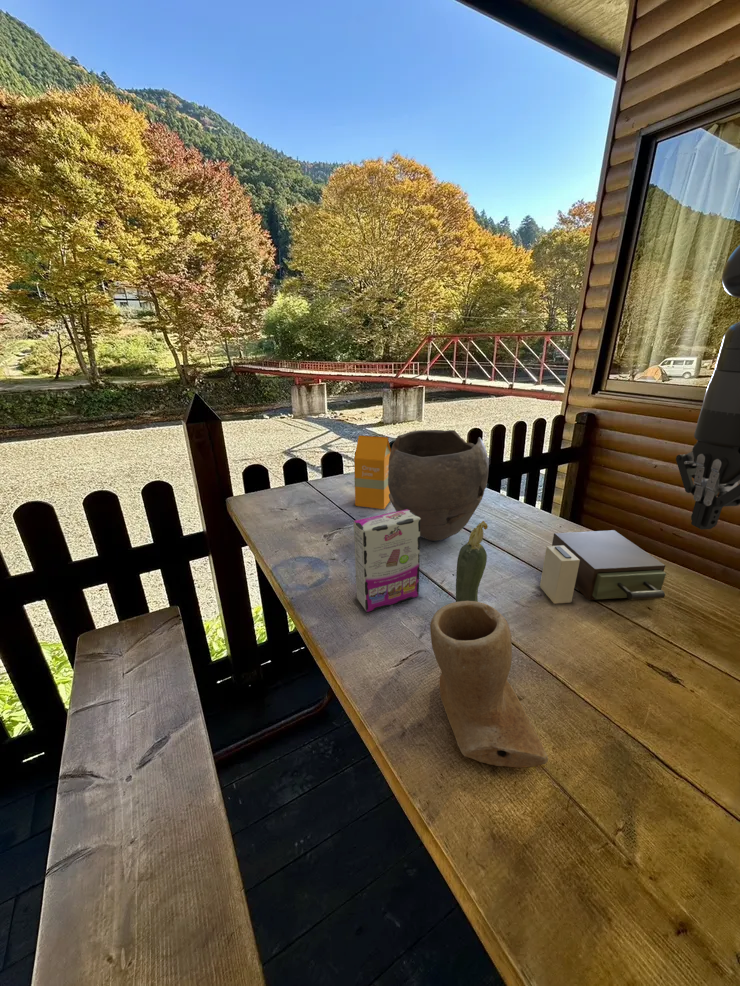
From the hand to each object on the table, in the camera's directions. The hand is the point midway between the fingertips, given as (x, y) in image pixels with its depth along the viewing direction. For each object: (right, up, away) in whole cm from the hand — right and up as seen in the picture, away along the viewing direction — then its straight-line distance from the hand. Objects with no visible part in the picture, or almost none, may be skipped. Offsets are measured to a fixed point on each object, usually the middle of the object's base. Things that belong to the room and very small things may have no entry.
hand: (701, 526), depth 59 cm
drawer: (-1, -13, +20) cm, 24 cm away
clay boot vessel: (-35, -24, -7) cm, 43 cm away
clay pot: (-33, -6, +41) cm, 53 cm away
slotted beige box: (-13, -14, +18) cm, 27 cm away
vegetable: (-32, -18, +9) cm, 38 cm away
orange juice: (-47, +2, +62) cm, 78 cm away
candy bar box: (-45, -15, +18) cm, 51 cm away
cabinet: (-2, -12, +24) cm, 27 cm away
